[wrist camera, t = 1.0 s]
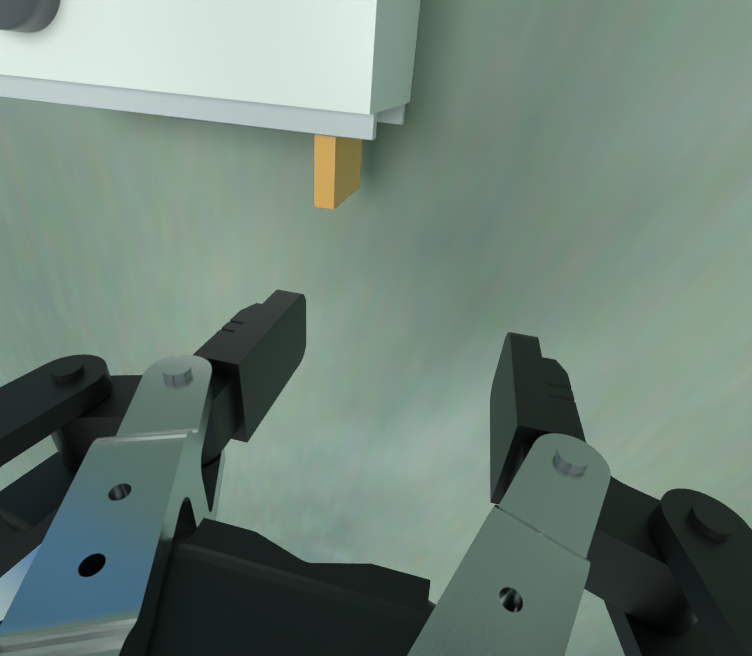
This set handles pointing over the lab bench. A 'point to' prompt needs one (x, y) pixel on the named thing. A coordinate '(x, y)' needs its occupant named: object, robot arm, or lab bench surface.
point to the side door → (331, 167)
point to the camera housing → (218, 59)
